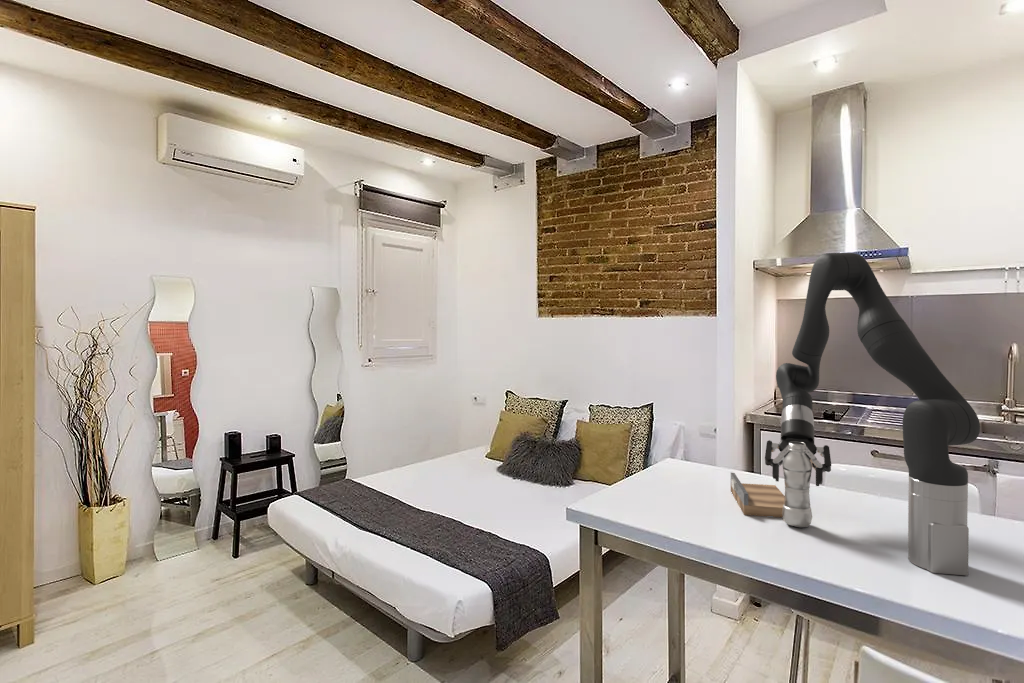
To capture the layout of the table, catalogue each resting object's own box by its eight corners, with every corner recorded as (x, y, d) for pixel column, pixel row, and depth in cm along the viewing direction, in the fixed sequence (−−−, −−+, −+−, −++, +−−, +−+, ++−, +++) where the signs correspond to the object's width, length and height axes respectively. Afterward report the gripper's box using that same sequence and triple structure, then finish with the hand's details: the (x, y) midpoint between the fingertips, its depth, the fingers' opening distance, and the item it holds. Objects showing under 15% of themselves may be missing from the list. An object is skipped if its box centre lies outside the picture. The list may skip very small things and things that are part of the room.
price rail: (748, 505, 134) (748, 493, 134) (741, 505, 134) (741, 493, 134) (734, 482, 153) (734, 472, 153) (728, 482, 154) (728, 472, 154)
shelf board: (795, 518, 131) (795, 508, 131) (744, 514, 134) (744, 505, 134) (775, 493, 151) (775, 485, 151) (730, 491, 154) (730, 482, 153)
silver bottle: (781, 528, 125) (781, 444, 125) (782, 518, 131) (782, 439, 131) (812, 532, 122) (813, 447, 122) (811, 522, 128) (811, 441, 128)
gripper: (766, 415, 136) (763, 470, 126) (830, 419, 129) (832, 477, 120) (767, 432, 141) (764, 486, 131) (828, 437, 134) (831, 494, 124)
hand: (797, 482), depth 125 cm, fingers open, 8 cm apart
